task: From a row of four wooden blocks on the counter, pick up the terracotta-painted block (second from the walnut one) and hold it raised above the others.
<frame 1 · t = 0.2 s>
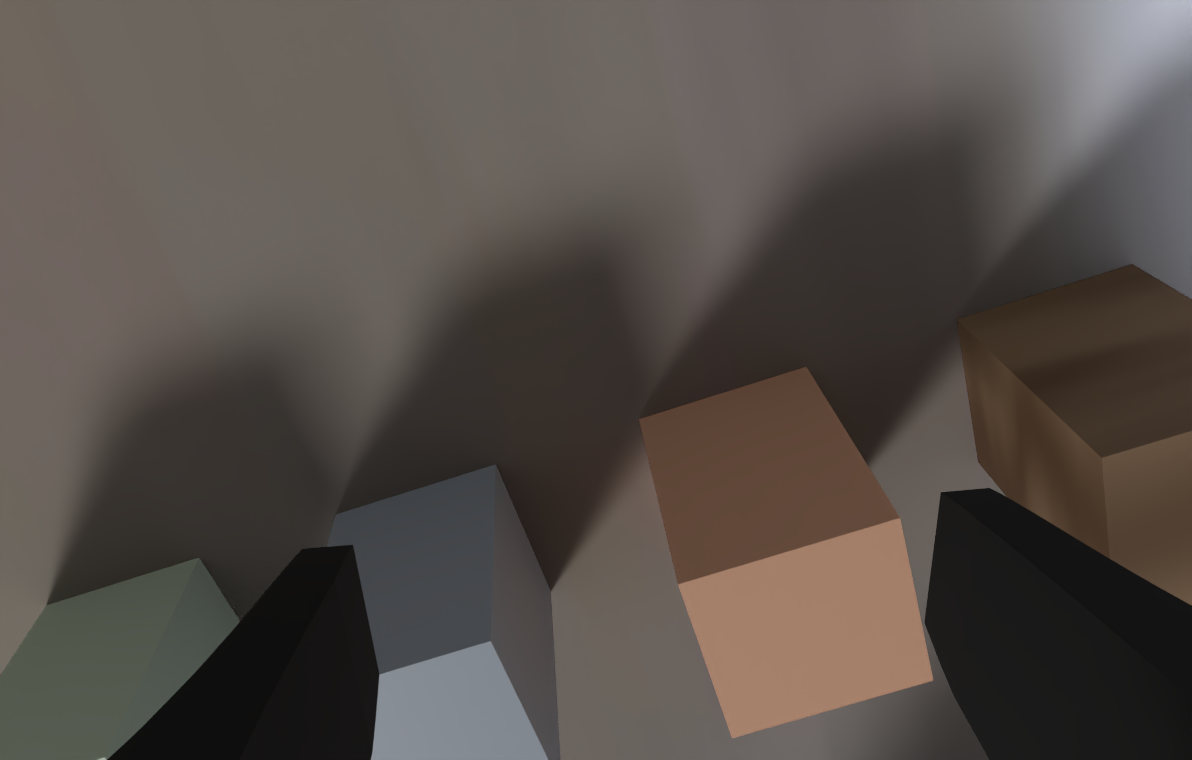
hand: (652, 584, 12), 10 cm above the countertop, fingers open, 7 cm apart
terracotta block: (742, 462, 23), on the countertop
sage block: (164, 640, 24), on the countertop
slate grey block: (446, 553, 24), on the countertop
walnut block: (1051, 367, 22), on the countertop
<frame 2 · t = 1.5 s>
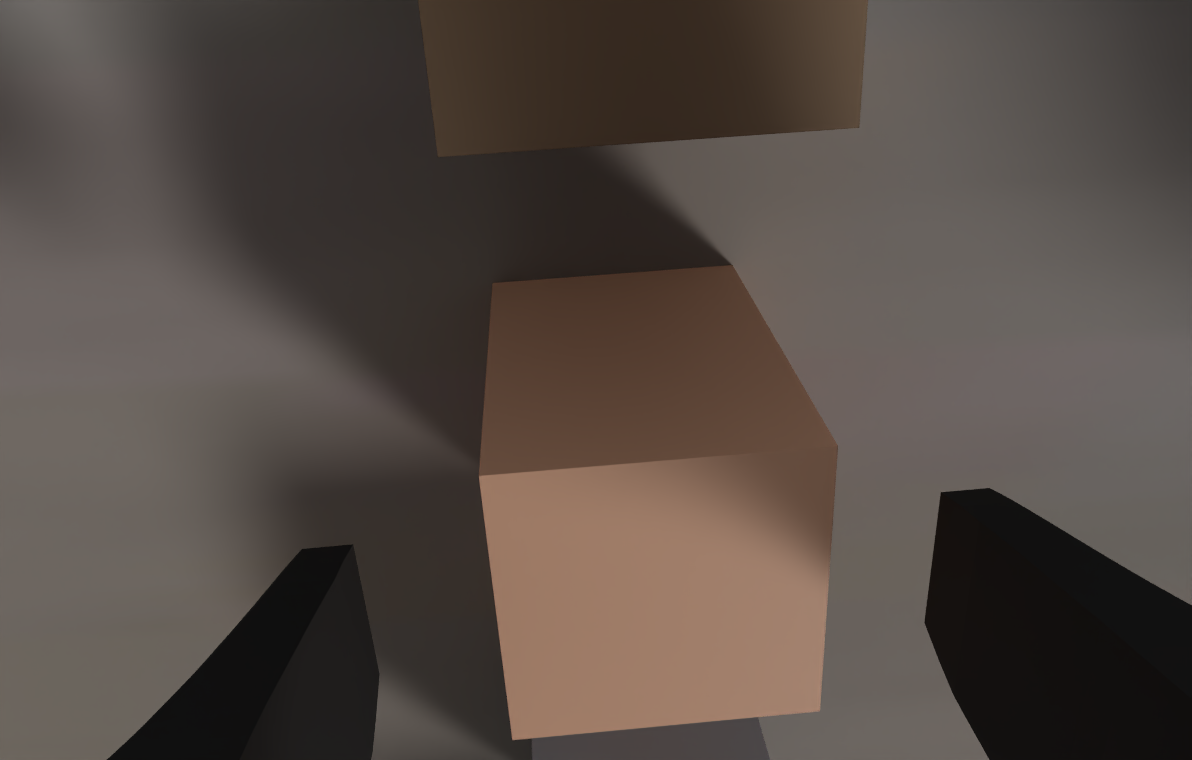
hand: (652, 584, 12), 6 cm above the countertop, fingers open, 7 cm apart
terracotta block: (618, 381, 17), on the countertop
slate grey block: (633, 699, 20), on the countertop
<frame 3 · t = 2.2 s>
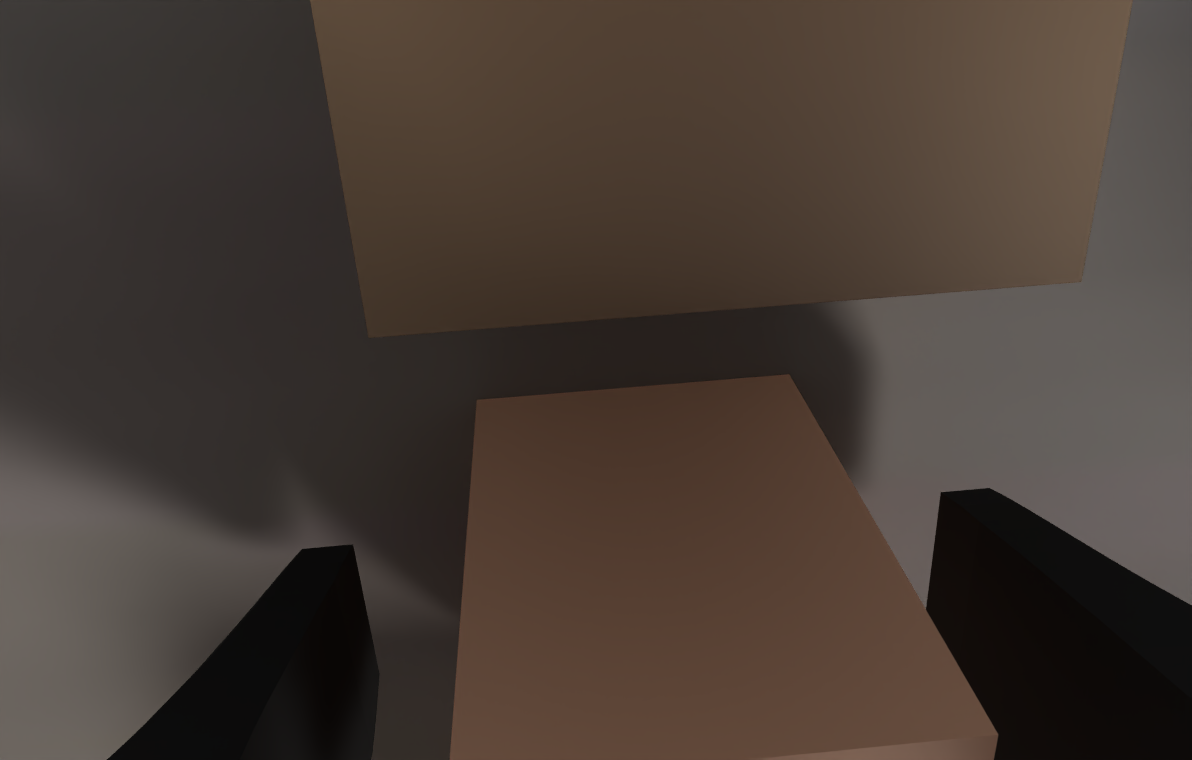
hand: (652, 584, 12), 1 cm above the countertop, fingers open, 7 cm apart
terracotta block: (639, 516, 13), on the countertop
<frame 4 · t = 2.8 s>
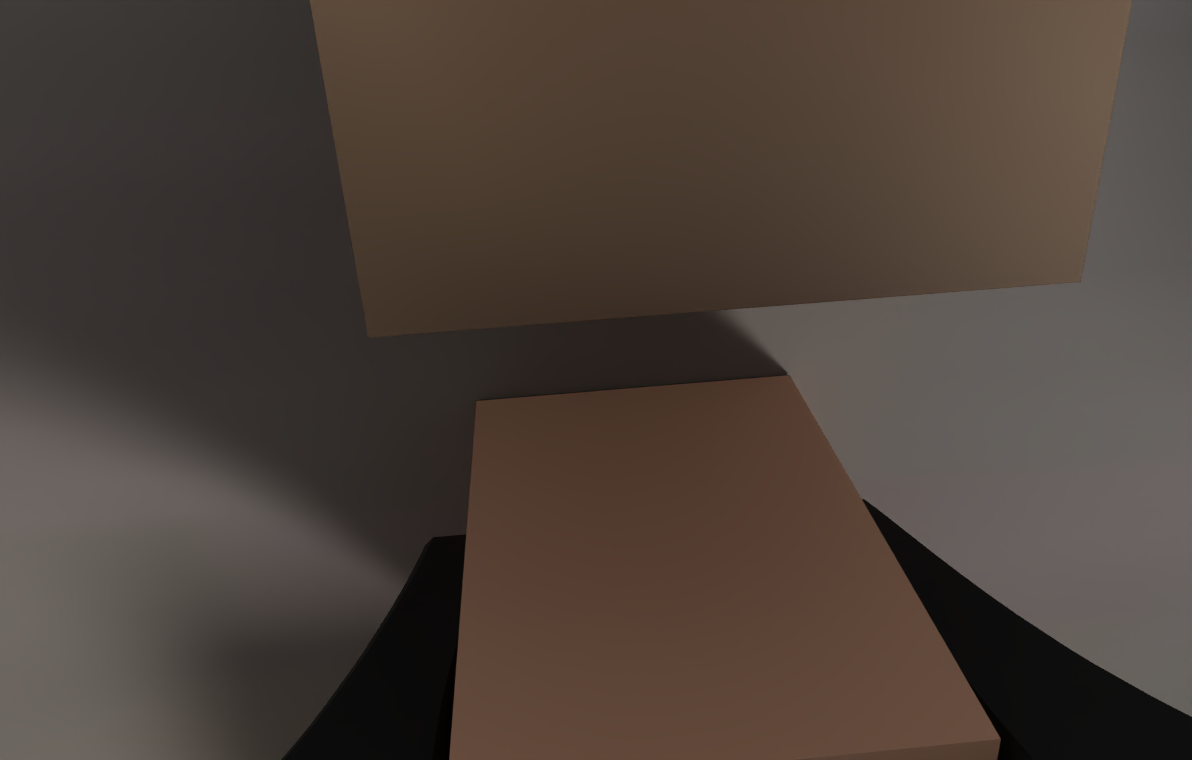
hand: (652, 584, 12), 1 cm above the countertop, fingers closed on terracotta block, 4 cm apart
terracotta block: (639, 518, 13), on the countertop, touching gripper
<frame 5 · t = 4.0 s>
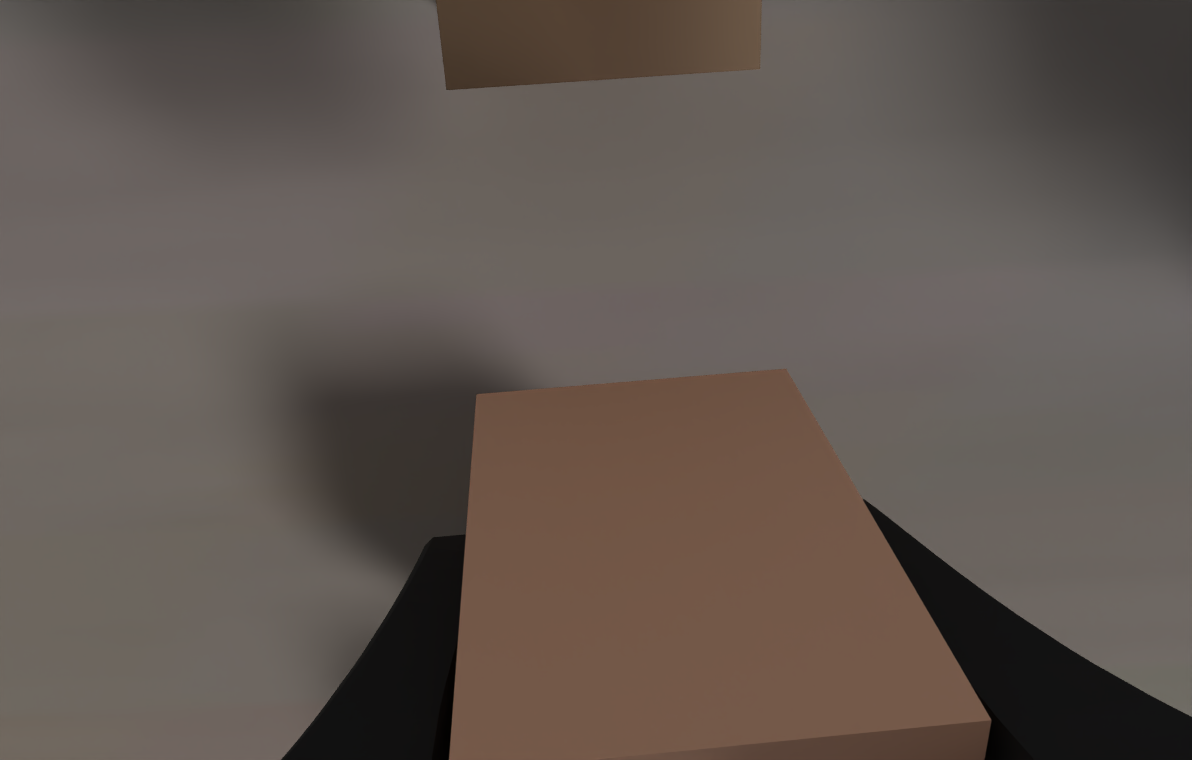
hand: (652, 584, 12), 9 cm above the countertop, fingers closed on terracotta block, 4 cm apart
terracotta block: (637, 510, 13), point 8 cm above the countertop, touching gripper
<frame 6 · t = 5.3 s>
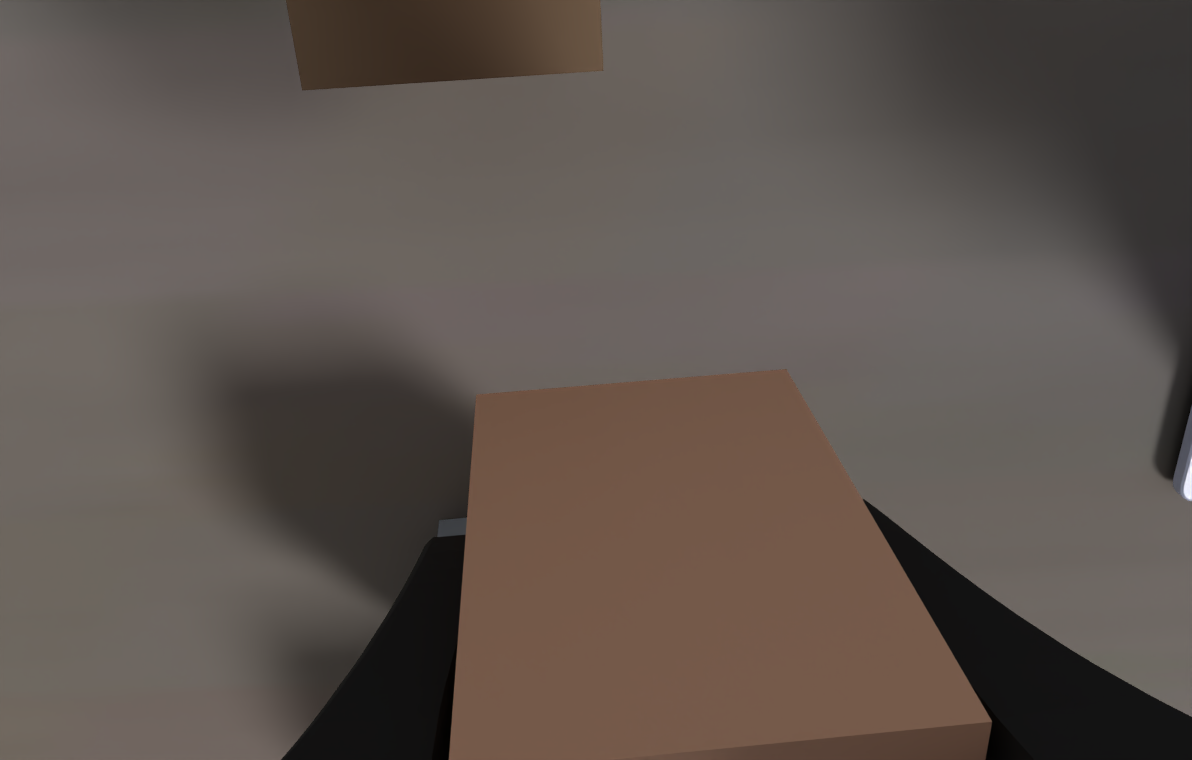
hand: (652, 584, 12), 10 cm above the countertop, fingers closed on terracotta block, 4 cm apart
terracotta block: (637, 511, 13), point 8 cm above the countertop, touching gripper
slate grey block: (529, 579, 24), on the countertop
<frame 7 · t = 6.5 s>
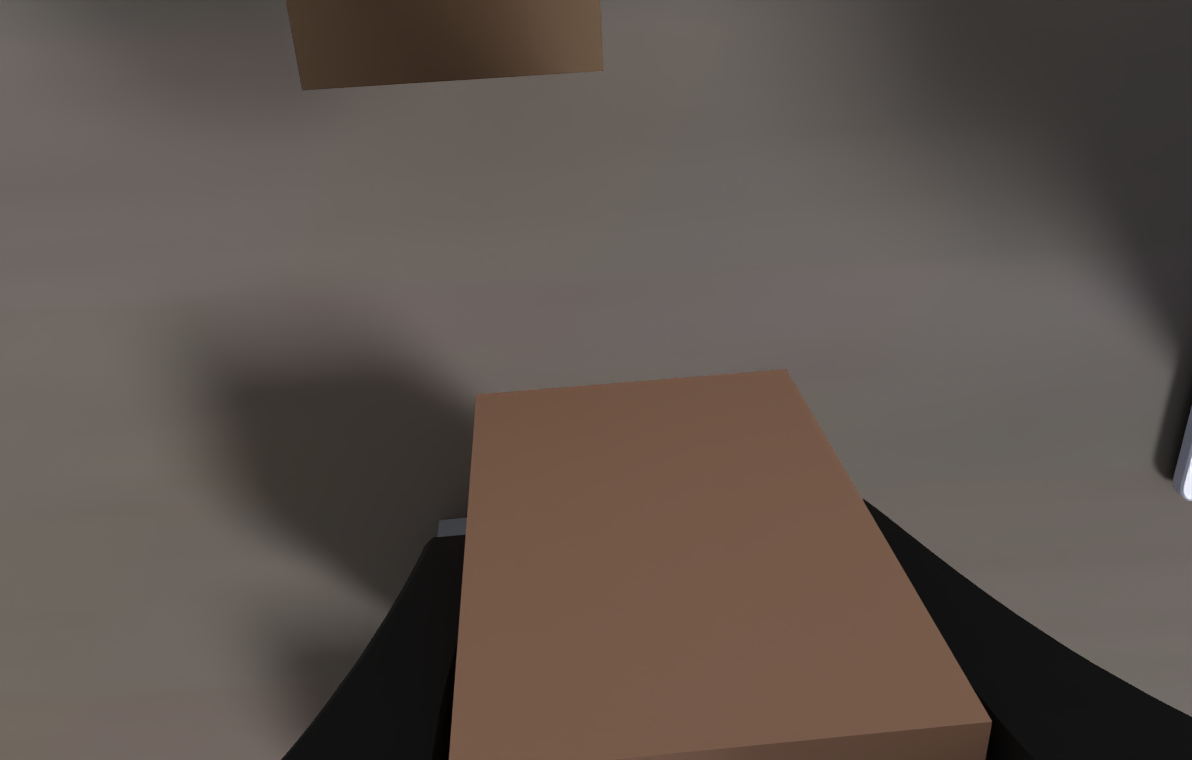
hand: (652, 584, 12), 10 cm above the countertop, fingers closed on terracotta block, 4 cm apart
terracotta block: (637, 511, 13), point 8 cm above the countertop, touching gripper
slate grey block: (529, 579, 24), on the countertop
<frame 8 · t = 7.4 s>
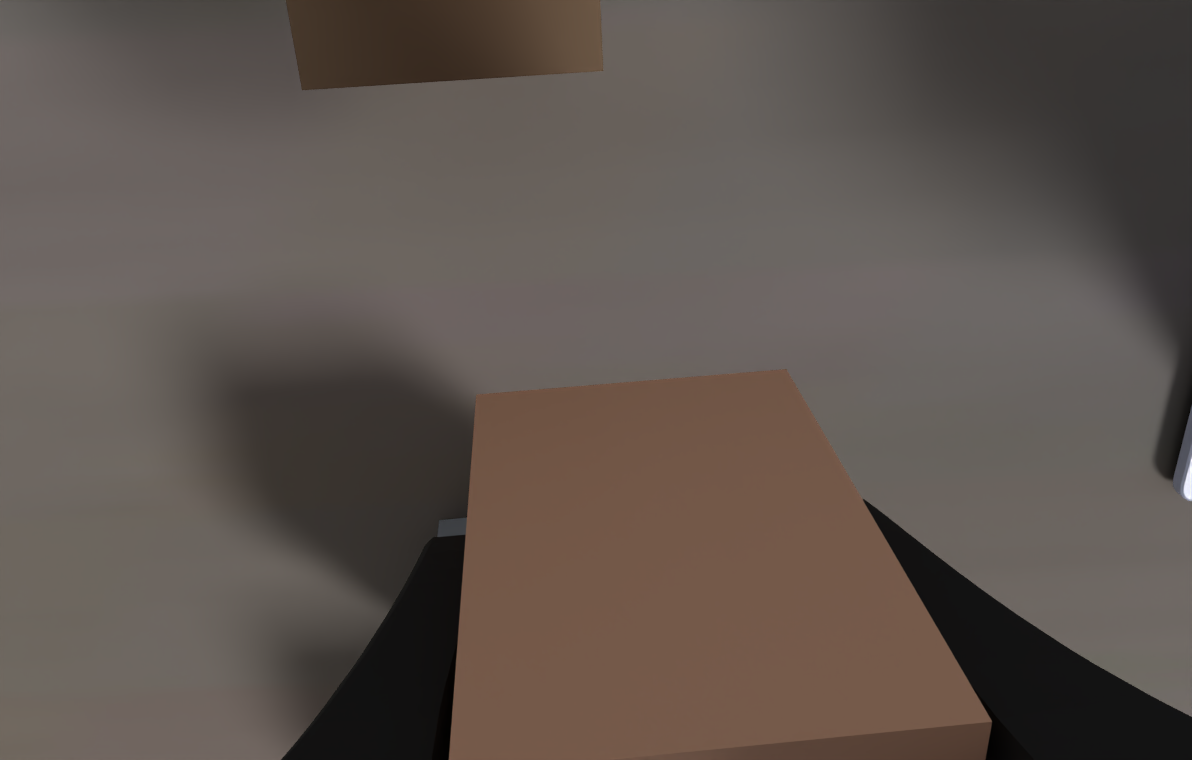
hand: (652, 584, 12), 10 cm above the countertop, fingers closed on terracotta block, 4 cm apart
terracotta block: (637, 511, 13), point 8 cm above the countertop, touching gripper
slate grey block: (529, 579, 24), on the countertop
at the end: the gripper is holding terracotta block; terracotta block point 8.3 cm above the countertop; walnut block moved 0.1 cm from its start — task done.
